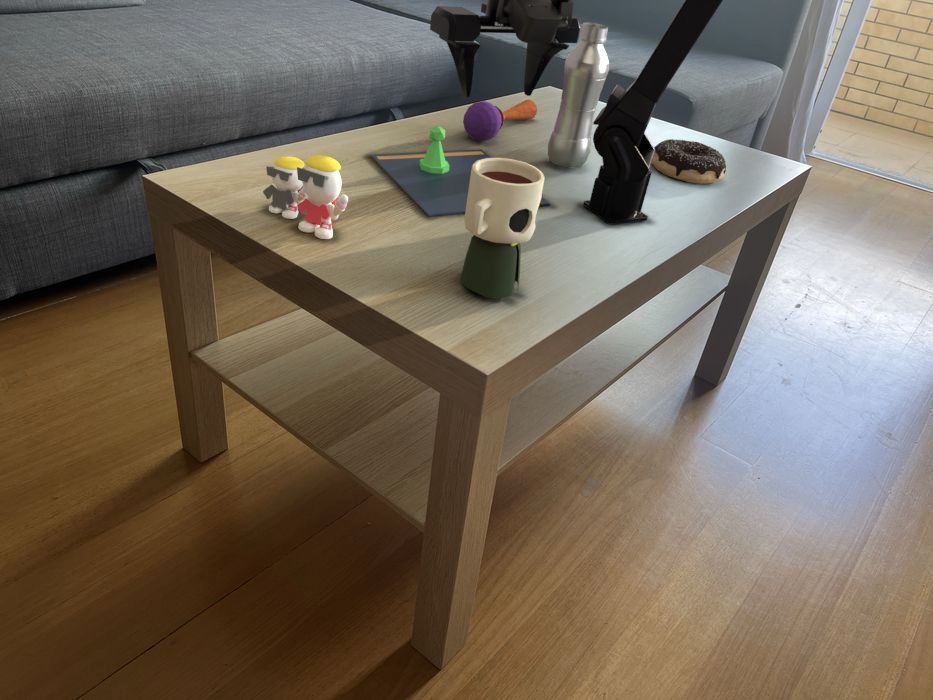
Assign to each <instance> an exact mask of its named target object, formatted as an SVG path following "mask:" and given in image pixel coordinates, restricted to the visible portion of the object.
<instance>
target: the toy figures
mask: <svg viewBox="0 0 933 700" xmlns="http://www.w3.org/2000/svg"><path fill="white" fill-rule="evenodd" d="M265 169H266V175H267V176H268V177H271V181H272V182H273V184H274V185H273V184H270V185H269V186H267V187H266V188H265V189H264V190H263V191H262V193H263V195H264V196H265V198H266V199H267V200H270V199H272V200H271V202H270V205H269V206H268V211H269V212H270V213H272V214H281V217H282V218H283V219H287V220H292V219H293V220H294V219H296V218H298V215H299V213H300V214H301V215H302V214H304V213H306V216H305V219H304V220H301V221H299V223H298V230H299V231H300V232H303V233H314V236H315V237H316V238H318V239H321V240H330V239H332V238H333V236H334V234H333V233H334V231H333V226H332V225H333V224H332V221H336V220H338V219H339V217H340V214H342V213H344V212H345V211H346V208H347V206H348V205H347V204H348V203H349V197H348V196H347V195H346V194H343V193H342V194H341V195H340V193H341V190H342V186H343V185H342V183H343V182H342V177H341V173H340V171H341V169H342V165H341V164H340V162H339V161H338V160H336V159H335V158H333V157H330V156H328V155H321V154H316V155H311V156H309V157H308V158H307V159H306V160H305V162H304V161H303V160H301V159H300V158H298V157H294V156H289V155H287V156H279V157H278V158H276V159H275V160H274V165H273V166H269V165H268V166H267V165H266V168H265ZM339 195H340V196H339Z"/></svg>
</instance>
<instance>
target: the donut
mask: <svg viewBox="0 0 933 700" xmlns="http://www.w3.org/2000/svg"><path fill="white" fill-rule="evenodd" d="M653 147H654V149H655V153H654V156H653V160H652V163H651V165H653V166H654V167H655V169H656V170H657V171H659V172H661V173H662V174H663V175H665V176H667V177H670V178H673V179H676V180H680V181H682V182H687V183H691V184H692V183H693V184H703V185H704V184H705V185H706V184H711V183H715V182H718V181H720V180H721V179H723V178H724V175H725V174H726V171H727V163H726V159H725V157H724V156H723V154H722V153H721V152H720V151H719V150H717V149H715V148H713V147H711V146H709V145H707V144H705V143H701V142H699V141H694V140H693V141H692V140H691V141H689V140H685V139H673V138H671V139H665V140H662V141H660V142H658V143H657V144H656V145H655V146H653Z"/></svg>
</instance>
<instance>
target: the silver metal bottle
mask: <svg viewBox="0 0 933 700" xmlns="http://www.w3.org/2000/svg"><path fill="white" fill-rule="evenodd" d="M608 31H609V26H606V25H604V24H601V23H596V22H583V23H582V25H581V30H580V35H579V39H580V41H579V42H578V43H577V45H576V46H575V47H574V48H573V49H572V50H571V51H570V52H569V53H568V55H567V57H566V59H565V62H564V69H563V70H564V71H563V81H562V82H563V84H562V92H561V98H560V99H561V101H560V105H559V110H558V113H557V116H556V121H555V124H554V128H553V130H552V132H551V134H550V137H549V140H548V143H547V156H548V159H549V162H551V163H553V164H555V165H557V166H559V167H565V168H570V169H573V168H575V169H576V168H580V167H582V166H583V165H584V164H586V163H587V161H588V158H589V156H590V153H591V147H592V134H593V133H592V132H593V125H594V124H593V122H594V121H595V114H596V110H597V106H598V103H599V101H600V100H599V99H600V96H601V94H602V90H603V88H604V85H605V82H606V80H607V76H608V75H609V71H610V61H609V57H608V54H607V52H606V50H605V46H604V43H606V42H607V40H608V38H607V36H608Z"/></svg>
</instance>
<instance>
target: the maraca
mask: <svg viewBox="0 0 933 700" xmlns="http://www.w3.org/2000/svg"><path fill="white" fill-rule="evenodd" d="M537 114H538V107H537V104H536V103H535V101H534V100H531V99H526V100H523V101H522V102H519V103H518V104H515V105H513V106H512V107H510V108H508V109H506V110H504V111H502V109H500V108H499V107H498V106H496V105H494V104H493V103H492V102H488V101H485V100H483V101H478V102H474V103H472V104H471V105H469V106H468V108H467V109H466V111H465V112H464V115H463V120H462V123H463V129H464V131H465V133H466V134H467V135H468V136H469V137H471V138H472V139H473V140H474V141H478V142H485V141H486V142H487V141H490V140H492V139H493V138H495V137H496V136H497V135H498V133H499V132H500V130H501V129H502V127H503V125H504V123H505V121H520V120H521V121H525V120H526V121H527V120H532V119H534V118H535V117H536V116H537Z"/></svg>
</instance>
